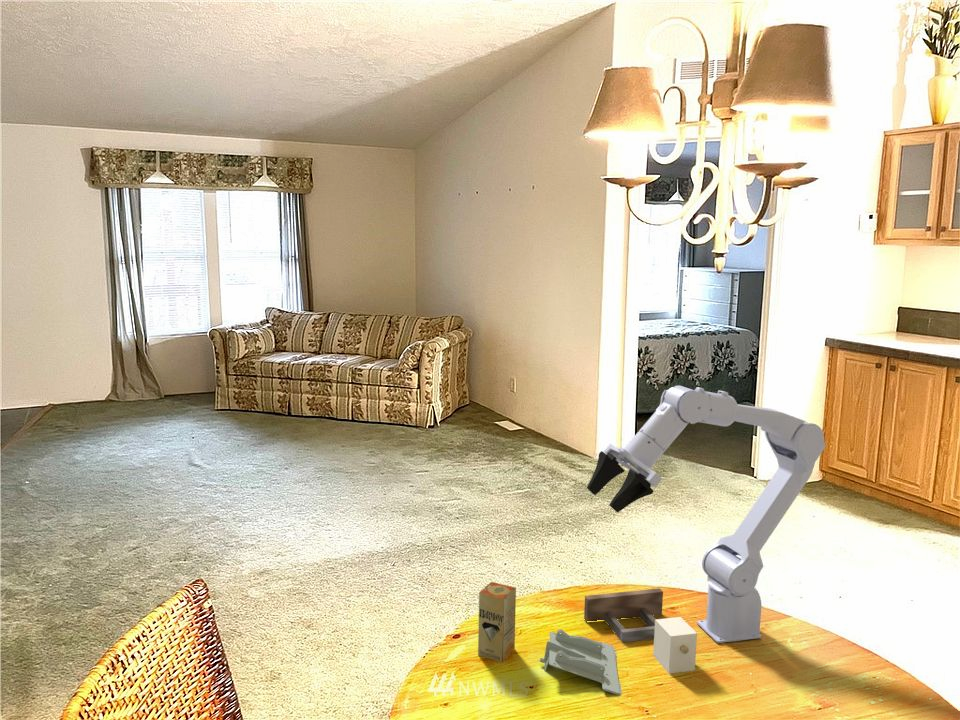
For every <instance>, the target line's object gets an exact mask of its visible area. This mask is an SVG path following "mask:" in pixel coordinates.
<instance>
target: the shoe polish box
mask: <svg viewBox="0 0 960 720" xmlns="http://www.w3.org/2000/svg"><path fill="white" fill-rule="evenodd" d="M516 598H517V587H515V586H510V585H506V584H502V583H498V582H494V581H491V582H490V583H488V584H487V585H486V586H485V587H483V588H482V589H481V590H480V591H479V592H478V632H477V633H478V636H477V637H478V639H477V640H478V645H477V649H478V650H477V653H478V654H477V656H480V657H483V658H486V659H490V660H494V661H497V662H500V663H504V662H505V661H506V660H507V659H508V658H509V657H510V655H511V654H512V653H513V652H514V651H515V649H516V608H517V607H516V604H517V603H516V601H517V599H516Z"/></svg>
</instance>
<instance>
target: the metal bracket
mask: <svg viewBox="0 0 960 720" xmlns="http://www.w3.org/2000/svg"><path fill="white" fill-rule="evenodd" d="M614 649H616V648H615V647H614V645H610V643H609V644H607V643H606V642H602V641H596V640H594V639H590V638H587V637H586V636H585V637H584V636H579V635H570V634H569V633H567V632H565V631H564V630H563V629H559V628H558V630H557V631H556V632H553V631H550V632H549V640H547V641H546V645H545V650H544V658H543V657H540V658H539V663H542V664H544V672H546V671H547V668H548V665H549V666H551V667H553V668H556V669H560V670H561V671H562V670H563V671H566V672H569V673H571V674H574V675H577V676H580V677H583V678H586V679H589V680H592V681H595V682H598V683H601V686H602V690H603V691H605V692H608V693H611V694H614V695H617V696H621V695H622V693H623V692H622V685H621V683H620V681H619V674H618V667H617V659H618V655H617V656H616V653H615V652H616V651H615V650H614ZM616 658H617V659H616Z"/></svg>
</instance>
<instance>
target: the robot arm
mask: <svg viewBox="0 0 960 720" xmlns="http://www.w3.org/2000/svg"><path fill="white" fill-rule="evenodd" d="M734 422H737V423H742V424H745V425H751V426H755V427H760V430H761V431H762V432H764V435H765V438H766V440H767V442H768V444H769V447H770V448H771V451H772V453H773V454H774V456H775V457H776V460H777V463H778V465H777V466H778V468H777V470H776V471H775V473H774V475H773V476H772V477H771V478H770V480H769V482H768V483H767V484H766V486H765V488H764V489H763V490H762V492H761V493H760V495H759V496H758V498H757V499H756V501H755V502H754V503H753V505H752V507H751V509H750V510H749V511H748V513H747V514H746V516H745V517H744V519H743V520H742V521H741V522H740V525H739V526H738V527H737V529H736V530H735V532H734V533H733V534H730V535H727V536H724V537H720V539H719V540H718V541H717V543H716V544H715V545H714V546H712V547H710V548H709V549H708V550H707V551H705V553H704V555H703V557H702V560H701V567H702V570H703V572H704V573H705V574H706V575H707V579H706V580H707V582H708V587H707V588H708V589H707V605H706V619H703V620H697V621H696V623H697V625H698V626H699V627H700V628H701V629H702V630H703V631H704V632H705V633H706V634H707V635H709V636H710V637H711V638H712V640H714V641H715V642H716V643H717V644H722V643H731V642H739V641H747V640H756V639H761V638H762V637H763V634H761V633H760V629H761V618H762V599H761V595H760V592H759V591H758V589H756V586H757V583H758V579H759V575H760V573H761V571H762V569H763V568H764V563H763V559H762V556H761V552H760V551H761V550H762V549H763V548H764V546H765V545H766V543H767V542H768V540H769V538H770V537H771V535H772V534H773V532H774V531H775V530H776V528H777V526H778V525H779V523H780V522H781V521H782V519H783V518H784V517H785V515H786V514H787V511H789V509H790V508H791V506H792V504H793V503H794V502H795V500H796V499H797V497H798V496H799V494H800V492H801V491H802V490H803V488H804V486H805V485H806V484H807V482H808V481H809V479H810V477H811V476H812V474H813V470H814V467H815V464H816V462H817V460H818V459H819V457H820V456H821V454H822V453H823V452H824V450H825V449H826V446H827V445H826V442H825V437H824V433H823V429H822V428H821V427H820V426H819V425H818V424H816V423H812V422H808V421H806V420H803V419H802V418H799V417H796V416H793V415H790V414H787V413H785V412H782V411H779V410H775V409H773V408H768V407H761V406H754V405H753V406H752V405H747V404H746V405H744V404H738V403H737V400H736V399H735V398H734V397H733V396H731V395H729V392H728V391H724V390H718V391H717V393H716V392H711V391H706V390H705V389H704V388H702V387H698V386H697V387H696V388H695V389H691V388H688V387H685V386H682V385H674V386H672V387H669V388H668V389H664V391H663V392H662V394H661V396H660V403H659V406H658V407H657V408H656V409H655V411H654V412H653V414H652V415H651V416H650V417H649V418H648V419H647V421H645V423H644V424H643V426H641V428H640V429H639V430H638V432H636V434H635V435H634V436H633V437H632V438H631V440H630V441H628V443H627V444H626V446H625V447H622V446H619V447H618V446H615V445H613V444H611V443H610V444H608V445H607V447H606V448H605V449H604V451H600V452H599V453H598V458H597V463H596V465H595V469H594V472H593V474H592V476H591V478H590V480H589V482H588V484H587V486H586V489H587V490H588V491H589V492H591V494H593V495H594V496H596V495H597V494H598V493H599V492H601V491H602V489H603V488H605V487H606V486H607V485H608V484H609V483H610V482H611V481H612V480H614V479H615V478H616V477H618V476H619V475H621V474H623V473H624V472H625V471H626V470H625V469H624V468H623V467H625V468H626V469H628V473H627V475H626V477H625V480H624V481H623V483H622V485H621V486H620V488H619V490H618V491H617V492H616V494H615V495H614V496H613V498H612V499H611V501H610V503H609V504H608V505H609V507H610V508H612V509H613V511H615V512H616V513H617V514H618V513H619V512H621V511H622V510H624V509H625V508H627V507H628V506H630V505H631V504H632V503H634V502H636V501H638V500H640V499H641V498H644V497H646V496H650V495H652V494H653V493H654V489H652V488H651V487H653V488H656V487H657V486H658V485H659V484H660V483H661V482H662V481H663V478H662V477H661V476H660V475H659V474H658V473H657V472H655V471H654V470H652V469H651V468H652V467H653V466H654V465H655V463H657V461H658V460H659V459H660V458H661V457H662V455H663V454H664V453H665V452H666V450H668V448H669V447H670V446H671V445H672V443H674V441H675V440H676V439H677V438H678V436H679V435H680V434H681V433H682V432H683V430H685V428H686V427H687V425H689V424H691V425H694V424H697V423H703V424H708V425H714V426H719V427H729V426H731V425H732V424H733V423H734ZM621 465H622V466H623V467H622V466H621ZM738 556H740V557H738Z"/></svg>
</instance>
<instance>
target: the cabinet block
mask: <svg viewBox="0 0 960 720" xmlns="http://www.w3.org/2000/svg"><path fill="white" fill-rule="evenodd" d="M655 619H656V618H655ZM697 643H698V632H697V631H695V630H694V628H693V627H691V626H690V625H689V624H688V623H687V622H686V621H685V620H684V618H682V617H681V616H678V617H667V618H658V619H656V620H655V632H654V639H653V652H652V653H653V654H652V656H653V657H654V659H656V661H657V662H658V663H659V664H660V665H661V666H662V668H663V669H664V671H666V672H667V673H668V674H676V673H683V672H684V673H686V672H693V671H695V670H696V656H697Z"/></svg>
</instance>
